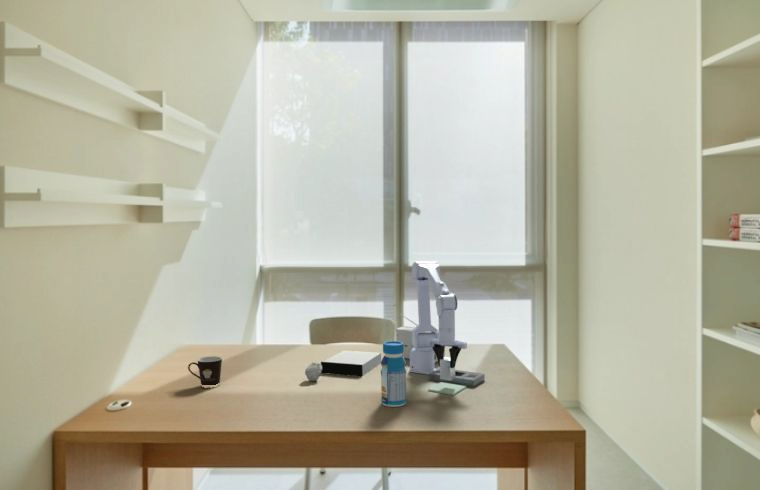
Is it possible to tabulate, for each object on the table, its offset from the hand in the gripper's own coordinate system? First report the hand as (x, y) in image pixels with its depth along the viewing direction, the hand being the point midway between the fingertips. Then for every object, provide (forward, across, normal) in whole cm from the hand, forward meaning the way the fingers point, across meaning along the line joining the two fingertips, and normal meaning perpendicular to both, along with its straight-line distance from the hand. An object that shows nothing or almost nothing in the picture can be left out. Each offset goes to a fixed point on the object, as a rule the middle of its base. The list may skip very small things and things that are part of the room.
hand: (447, 366), depth 198 cm
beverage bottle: (+8, -8, -23) cm, 26 cm away
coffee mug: (+8, -78, -41) cm, 89 cm away
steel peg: (+4, 0, 0) cm, 4 cm away
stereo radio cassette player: (+8, -30, +34) cm, 46 cm away
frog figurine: (+8, -48, -16) cm, 51 cm away
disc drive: (+9, -47, +7) cm, 48 cm away
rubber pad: (+8, 0, 0) cm, 8 cm away
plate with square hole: (+8, -2, +12) cm, 15 cm away
